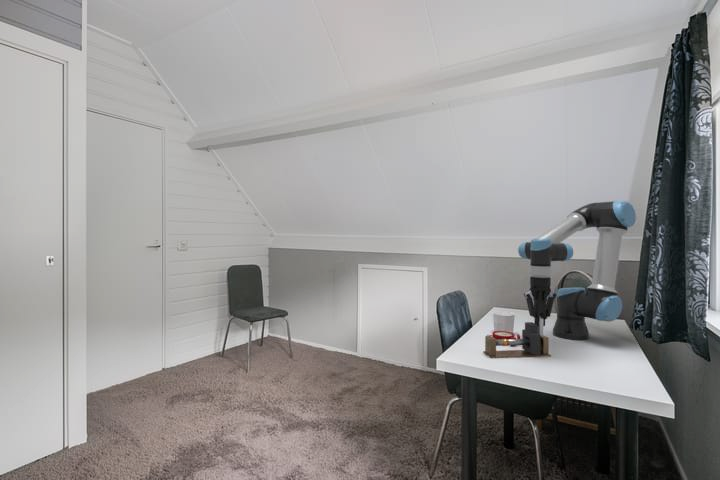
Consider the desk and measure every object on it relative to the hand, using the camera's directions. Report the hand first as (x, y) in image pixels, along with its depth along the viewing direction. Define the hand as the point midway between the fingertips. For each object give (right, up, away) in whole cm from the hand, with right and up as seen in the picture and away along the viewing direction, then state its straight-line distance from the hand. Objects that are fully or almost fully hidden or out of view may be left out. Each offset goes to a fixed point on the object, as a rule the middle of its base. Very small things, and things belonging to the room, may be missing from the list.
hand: (539, 334), depth 151 cm
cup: (-3, -8, +31) cm, 32 cm away
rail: (-10, -8, -1) cm, 13 cm away
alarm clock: (-7, -8, +16) cm, 19 cm away
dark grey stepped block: (-4, -8, 0) cm, 9 cm away
